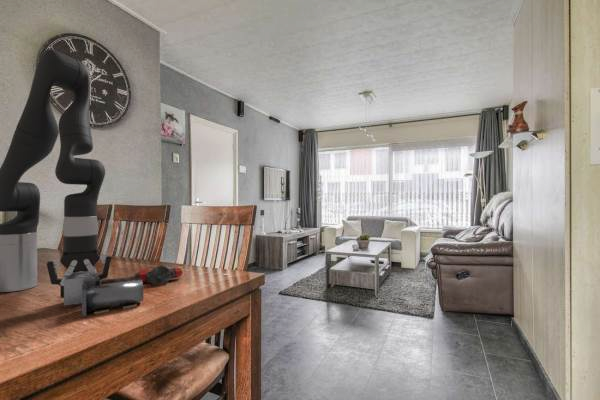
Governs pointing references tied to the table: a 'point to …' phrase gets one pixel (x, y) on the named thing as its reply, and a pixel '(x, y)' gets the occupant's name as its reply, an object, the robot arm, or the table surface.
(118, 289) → the pipe stub
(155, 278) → the valve
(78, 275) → the coupling
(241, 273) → the table surface
